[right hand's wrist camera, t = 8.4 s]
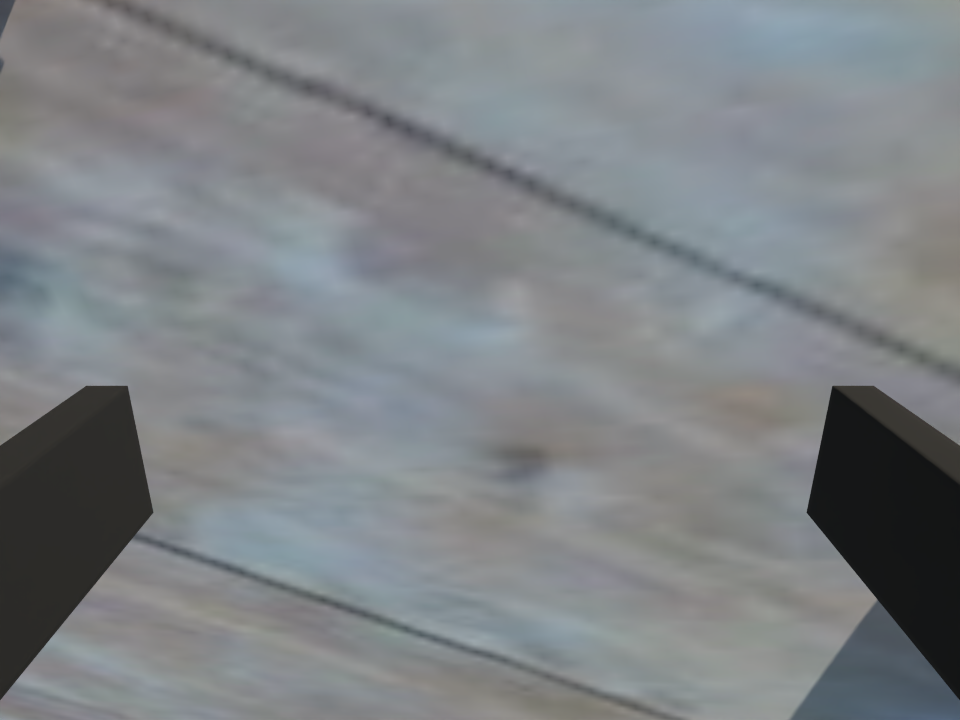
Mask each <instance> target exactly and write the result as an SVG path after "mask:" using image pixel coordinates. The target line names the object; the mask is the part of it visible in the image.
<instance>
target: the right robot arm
mask: <svg viewBox="0 0 960 720" xmlns="http://www.w3.org/2000/svg"><path fill="white" fill-rule="evenodd" d="M152 514H153V509H152V504H151V499H150V494H149V489H148V484H147V479H146V474H145V469H144V465H143V460H142V455H141V450H140V445H139V440H138V435H137V430H136V425H135V420H134V415H133V411H132V406H131V401H130V396H129V391H128V386H86V387H84V388H83V389H81V390H80V391H78V392H77V393H76V394H74V395H73V396H71V397H70V398H68V399H67V400H65V401H64V402H63V403H61V404H60V405H58V406H57V407H55V408H54V409H52V410H51V411H50V412H48V413H47V414H45V415H44V416H42V417H41V418H40V419H38V420H37V421H35V422H34V423H32V424H31V425H29V426H28V427H27V428H25V429H24V430H22V431H21V432H19V433H18V434H17V435H15V436H14V437H12V438H11V439H9V440H8V441H6V442H5V443H4V444H2V445H1V446H0V700H1V698H2V697H3V696H4V695H5V694H6V692H7V691H8V690H9V689H10V687H11V686H12V685H13V684H14V683H15V681H16V680H17V679H18V678H19V676H20V675H21V674H22V673H23V672H24V670H25V669H26V668H27V667H28V665H29V664H30V663H31V662H32V660H33V659H34V658H35V657H36V656H37V654H38V653H39V652H40V651H41V649H42V648H43V647H44V646H45V645H46V643H47V642H48V641H49V640H50V638H51V637H52V636H53V635H54V634H55V632H56V631H57V630H58V629H59V627H60V626H61V625H62V624H63V623H64V621H65V620H66V619H67V618H68V616H69V615H70V614H71V613H72V612H73V610H74V609H75V608H76V607H77V605H78V604H79V603H80V602H81V600H82V599H83V598H84V597H85V596H86V594H87V593H88V592H89V591H90V589H91V588H92V587H93V586H94V585H95V583H96V582H97V581H98V580H99V578H100V577H101V576H102V575H103V574H104V572H105V571H106V570H107V569H108V567H109V566H110V565H111V564H112V563H113V561H114V560H115V559H116V558H117V556H118V555H119V554H120V553H121V551H122V550H123V549H124V548H125V547H126V545H127V544H128V543H129V542H130V540H131V539H132V538H133V537H134V536H135V534H136V533H137V532H138V531H139V529H140V528H141V527H142V526H143V525H144V523H145V522H146V521H147V520H148V518H149V517H150V516H151V515H152ZM807 514H808V515H809V516H810V517H811V518H812V520H813V521H814V522H815V523H816V525H817V526H818V527H819V528H820V529H821V531H822V532H823V533H824V534H825V536H826V537H827V538H828V539H829V540H830V542H831V543H832V544H833V545H834V547H835V548H836V549H837V550H838V551H839V553H840V554H841V555H842V556H843V558H844V559H845V560H846V561H847V563H848V564H849V565H850V566H851V567H852V569H853V570H854V571H855V572H856V574H857V575H858V576H859V577H860V578H861V580H862V581H863V582H864V583H865V585H866V586H867V587H868V588H869V589H870V591H871V592H872V593H873V594H874V596H875V597H876V598H877V599H878V600H879V602H880V603H881V604H882V605H883V607H884V608H885V609H886V610H887V612H888V613H889V614H890V615H891V616H892V618H893V619H894V620H895V621H896V623H897V624H898V625H899V626H900V627H901V629H902V630H903V631H904V632H905V634H906V635H907V636H908V637H909V638H910V640H911V641H912V642H913V643H914V645H915V646H916V647H917V648H918V649H919V651H920V652H921V653H922V654H923V656H924V657H925V658H926V659H927V660H928V662H929V663H930V664H931V665H932V667H933V668H934V669H935V670H936V672H937V673H938V674H939V675H940V676H941V678H942V679H943V680H944V681H945V683H946V684H947V685H948V686H949V687H950V689H951V690H952V691H953V692H954V694H955V695H956V696H957V697H958V698H959V700H960V446H959V445H958V444H956V443H955V442H954V441H952V440H951V439H949V438H948V437H946V436H945V435H943V434H942V433H941V432H939V431H938V430H936V429H935V428H933V427H932V426H931V425H929V424H928V423H926V422H925V421H923V420H922V419H920V418H919V417H918V416H916V415H915V414H913V413H912V412H910V411H909V410H908V409H906V408H905V407H903V406H902V405H900V404H899V403H897V402H896V401H895V400H893V399H892V398H890V397H889V396H887V395H886V394H884V393H883V392H882V391H880V390H879V389H877V388H876V387H874V386H832V391H831V396H830V401H829V406H828V411H827V415H826V420H825V425H824V430H823V435H822V440H821V445H820V450H819V455H818V460H817V465H816V469H815V474H814V479H813V484H812V489H811V494H810V499H809V504H808V509H807Z"/></svg>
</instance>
